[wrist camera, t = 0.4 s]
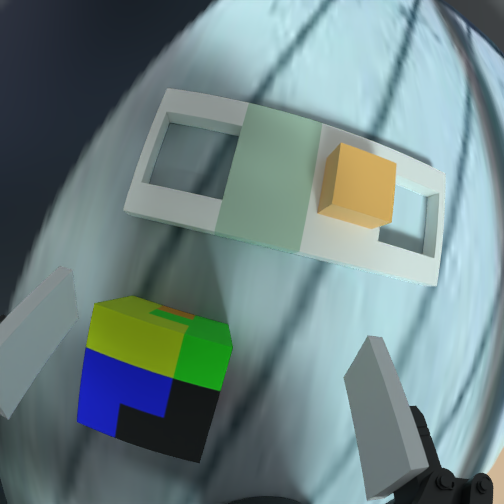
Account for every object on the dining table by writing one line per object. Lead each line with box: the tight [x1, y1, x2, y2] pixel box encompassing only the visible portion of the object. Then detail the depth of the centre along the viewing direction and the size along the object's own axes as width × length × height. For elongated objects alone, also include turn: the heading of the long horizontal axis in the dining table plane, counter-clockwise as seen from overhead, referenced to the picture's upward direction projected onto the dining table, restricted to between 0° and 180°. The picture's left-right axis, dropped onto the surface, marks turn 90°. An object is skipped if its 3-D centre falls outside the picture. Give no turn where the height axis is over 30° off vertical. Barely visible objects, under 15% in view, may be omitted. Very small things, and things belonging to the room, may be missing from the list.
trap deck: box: [123, 88, 445, 286], centre depth 30 cm, size 14×34×2 cm, turn 77°
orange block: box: [317, 143, 397, 229], centre depth 27 cm, size 6×6×4 cm
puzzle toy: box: [77, 295, 233, 463], centre depth 24 cm, size 10×10×10 cm
